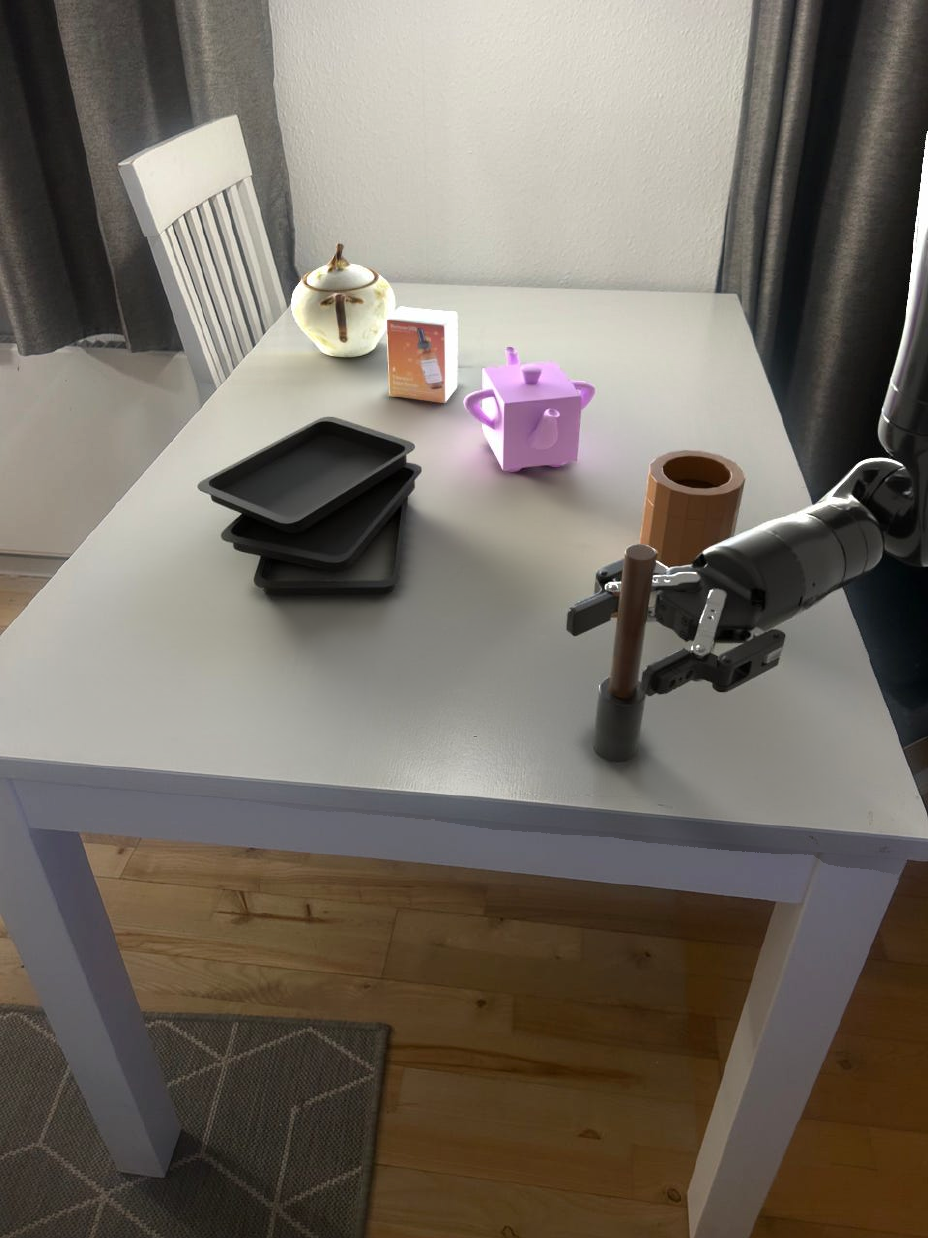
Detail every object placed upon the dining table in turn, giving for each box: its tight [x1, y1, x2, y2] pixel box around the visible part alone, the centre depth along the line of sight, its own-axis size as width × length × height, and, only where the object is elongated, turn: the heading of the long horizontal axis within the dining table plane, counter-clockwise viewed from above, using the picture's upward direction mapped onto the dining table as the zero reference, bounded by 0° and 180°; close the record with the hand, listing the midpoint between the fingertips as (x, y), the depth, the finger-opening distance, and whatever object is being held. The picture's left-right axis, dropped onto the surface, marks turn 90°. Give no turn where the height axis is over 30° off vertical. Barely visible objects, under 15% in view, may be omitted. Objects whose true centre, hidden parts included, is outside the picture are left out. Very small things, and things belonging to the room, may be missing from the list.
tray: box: [196, 416, 423, 596], centre depth 95 cm, size 30×23×5 cm
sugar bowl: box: [290, 242, 396, 358], centre depth 131 cm, size 20×15×15 cm
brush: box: [592, 543, 656, 763], centre depth 65 cm, size 3×3×18 cm
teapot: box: [463, 346, 596, 473], centre depth 105 cm, size 15×13×11 cm
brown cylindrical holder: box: [638, 449, 746, 568], centre depth 85 cm, size 8×8×11 cm
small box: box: [386, 305, 458, 404], centre depth 120 cm, size 8×6×10 cm
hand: (606, 652), depth 63 cm, fingers open, 7 cm apart
